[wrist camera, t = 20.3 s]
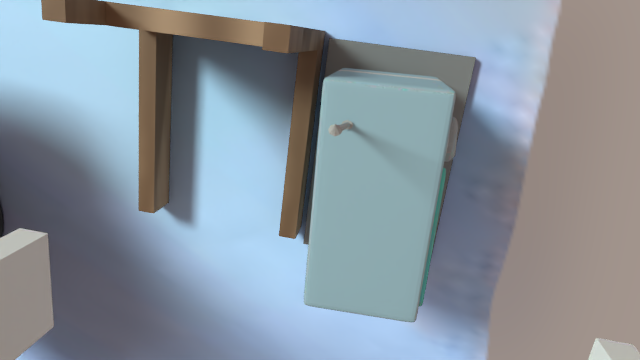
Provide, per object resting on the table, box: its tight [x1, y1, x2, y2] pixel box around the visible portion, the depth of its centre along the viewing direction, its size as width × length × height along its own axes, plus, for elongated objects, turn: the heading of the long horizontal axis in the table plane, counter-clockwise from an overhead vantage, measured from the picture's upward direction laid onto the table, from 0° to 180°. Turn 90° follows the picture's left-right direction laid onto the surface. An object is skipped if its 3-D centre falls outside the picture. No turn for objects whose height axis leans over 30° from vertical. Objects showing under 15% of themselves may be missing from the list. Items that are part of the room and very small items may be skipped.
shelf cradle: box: [41, 0, 325, 239], centre depth 35 cm, size 15×18×14 cm
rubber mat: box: [303, 38, 476, 256], centre depth 40 cm, size 12×19×1 cm, turn 172°
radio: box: [304, 68, 458, 322], centre depth 31 cm, size 16×9×20 cm, turn 174°
